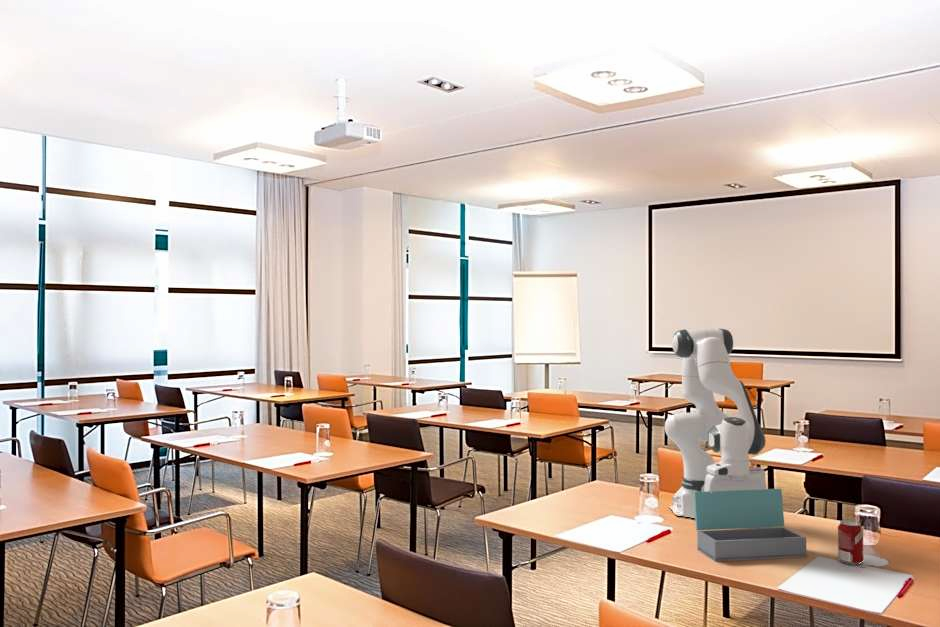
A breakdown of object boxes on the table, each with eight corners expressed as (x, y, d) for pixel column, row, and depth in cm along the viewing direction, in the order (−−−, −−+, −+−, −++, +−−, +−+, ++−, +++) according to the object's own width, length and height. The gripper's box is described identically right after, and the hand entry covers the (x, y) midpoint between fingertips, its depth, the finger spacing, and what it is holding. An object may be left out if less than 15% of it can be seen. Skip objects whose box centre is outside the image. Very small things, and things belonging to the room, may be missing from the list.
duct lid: (697, 530, 235) (696, 529, 236) (784, 526, 239) (782, 526, 240) (694, 492, 237) (693, 491, 238) (781, 488, 241) (779, 488, 242)
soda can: (850, 566, 218) (849, 526, 218) (833, 560, 224) (832, 520, 224) (868, 564, 219) (868, 524, 220) (851, 558, 226) (850, 518, 226)
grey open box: (697, 549, 235) (697, 531, 235) (784, 545, 239) (784, 527, 239) (715, 561, 223) (714, 541, 223) (806, 556, 227) (806, 537, 228)
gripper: (759, 465, 246) (760, 506, 245) (701, 467, 243) (702, 509, 243) (770, 468, 239) (770, 511, 239) (710, 470, 237) (711, 513, 236)
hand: (735, 510), depth 241 cm, fingers closed, pressing on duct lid
